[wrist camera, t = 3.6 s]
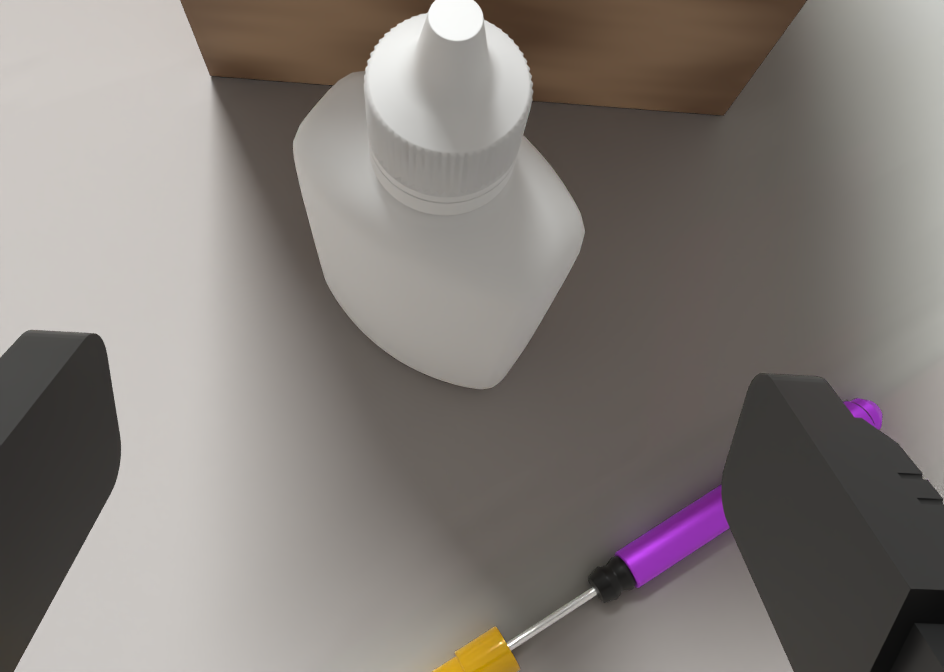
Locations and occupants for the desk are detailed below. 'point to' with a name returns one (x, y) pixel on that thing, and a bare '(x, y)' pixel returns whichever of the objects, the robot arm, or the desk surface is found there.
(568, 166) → the desk surface
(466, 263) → the eye dropper bottle
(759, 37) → the box
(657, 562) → the linear piston actuator
